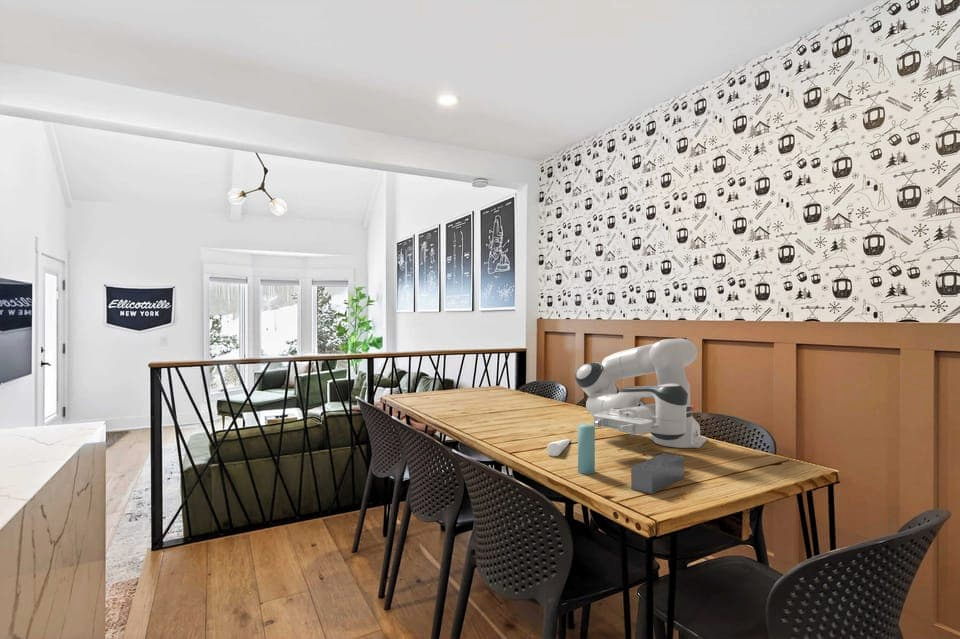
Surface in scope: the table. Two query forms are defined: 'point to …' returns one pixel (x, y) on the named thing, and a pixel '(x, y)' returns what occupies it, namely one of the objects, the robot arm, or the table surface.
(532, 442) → the table surface
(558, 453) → the unicorn horn
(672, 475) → the gray block
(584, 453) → the teal post
